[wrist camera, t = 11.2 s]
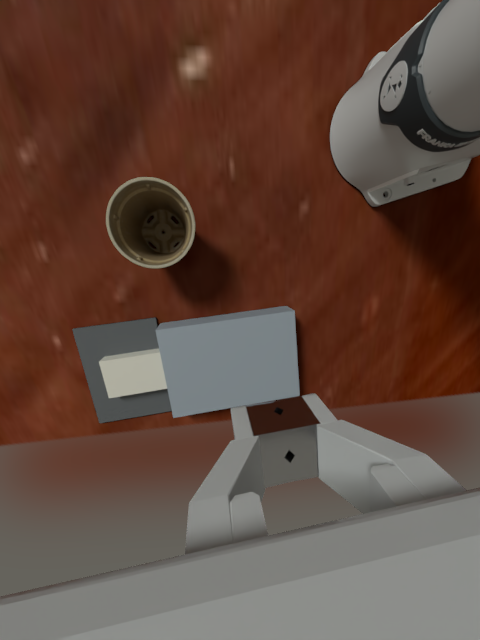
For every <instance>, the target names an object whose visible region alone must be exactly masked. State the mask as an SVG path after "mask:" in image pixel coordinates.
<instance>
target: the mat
mask: <svg viewBox="0 0 480 640" xmlns="http://www.w3.org/2000/svg"><path fill="white" fill-rule="evenodd" d="M157 327H158V325H157V320H156V318H148V319H141V320H134V321H126V322H119V323H112V324H104V325H97V326H89V327H82V328H75V329H72V330H73V334H74V337H75V340H76V344H77V347H78V351H79V354H80V358H81V361H82V365H83V368H84V371H85V375H86V378H87V382H88V385H89V389H90V392H91V396H92V399H93V402H94V406H95V409H96V413H97V416H98V420H99V423H104V422H110V421H116V420H122V419H128V418H133V417H139V416H145V415H151V414H157V413H162V412H168V411H172V409H171V404H170V399H169V394H168V389H162V390H156V391H150V392H144V393H138V394H132V395H126V396H120V397H114V398H109V397H108V393H107V390H106V386H105V383H104V379H103V375H102V372H101V368H100V365H99V361H100V360H101V359H102V358H103V357H105V356H112V355H119V354H125V353H132V352H138V351H145V350H151V349H158V348H159V345H158V341H157V336H156V331H155V330H156V329H157Z"/></svg>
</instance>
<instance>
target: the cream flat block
mask: <svg viewBox="0 0 480 640" xmlns="http://www.w3.org/2000/svg"><path fill="white" fill-rule="evenodd" d="M99 365H100V368H101V372H102V375H103V379H104V383H105V386H106V390H107V393H108V397H109V398H114V397H120V396H126V395H132V394H138V393H144V392H150V391H156V390H162V389H167V385H166V380H165V375H164V370H163V365H162V360H161V355H160V350H159V348H158V349H151V350H145V351H138V352H132V353H125V354H119V355H112V356H105V357H103V358H102V359H101V360H100V361H99Z"/></svg>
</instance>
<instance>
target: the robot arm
mask: <svg viewBox="0 0 480 640" xmlns="http://www.w3.org/2000/svg"><path fill="white" fill-rule="evenodd" d="M330 146H331V152H332V156H333V159H334V162H335V164H336V166H337V168H338V170H339V172H340V173H341V174H342V176H343V177H344V178H345V179H346V180H347V181H348V182H349V183H351V184H352V185H353V186H355V187H356V188H358V189H359V190H360V191H361V192H362V194H363V195H364V197H365V199H366V200H367V202H368V203H369V204H370V205H371V206H373V207H377V206H380V205H383V204H386V203H389V202H392V201H395V200H398V199H401V198H404V197H408V196H411V195H414V194H417V193H420V192H423V191H426V190H429V189H432V188H435V187H438V186H441V185H444V184H447V183H450V182H453V181H455V180H458V179H460V178H461V177H462V176H463V175H464V173H465V171H466V169H467V168H468V165H469V163H470V161H471V158H473V157H476V156H478V155H480V0H443V1H442V2H441V3H439V4H438V5H437V6H436V7H434V8H433V9H432V10H431V11H430V13H429V14H428V15H427V16H426V17H425V18H424V20H422V21H420V22H418V23H417V24H416V25H415V26H414V27H413V28H411V29H410V30H409V31H408V32H407V33H406V34H405V35H404V36H403V37H402V38H401V39H400V40H399V41H398V42H397V43H396V44H395V45H394V46H393V47H392V48H391V49H390V50H389V51H388V52H380V53H378V54H377V55H376V56H375V57H374V58H373V59H372V60H371V61H370V63H369V65H368V66H367V68H366V70H365V72H364V74H363V76H362V78H361V79H360V80H359V81H358V82H357V83H356V84H355V85H354V86H352V87H351V88H350V89H349V90H348V91H347V92H346V94H345V95H344V96H343V97H342V99H341V100H340V102H339V104H338V106H337V108H336V110H335V113H334V116H333V119H332V123H331V129H330ZM383 193H385V197H384V196H383ZM231 416H232V423H233V431H234V438H235V440H232V441H230V443H229V444H228V446H227V447H226V449H225V450H224V452H223V453H222V455H221V457H220V458H219V459H218V461H217V462H216V464H215V465H214V467H213V469H212V470H211V471H210V473H209V474H208V476H207V477H206V479H205V480H204V482H203V483H202V485H201V486H200V488H199V489H198V491H197V492H196V494H195V495H194V497H193V498H192V500H191V501H190V503H189V512H188V524H187V537H186V548H185V555H181V556H176V557H173V558H168V559H163V560H159V561H155V562H150V563H146V564H141V565H137V566H133V567H128V568H124V569H119V570H115V571H111V572H106V573H102V574H97V575H93V576H89V577H85V578H80V579H75V580H71V581H67V582H62V583H58V584H54V585H49V586H45V587H40V588H36V589H32V590H27V591H23V592H18V593H14V594H10V595H5V596H1V597H0V640H480V488H476V489H471V490H466V489H465V488H464V487H463V486H461V485H460V484H459V483H458V482H457V481H456V480H455V479H454V478H452V477H451V476H450V475H449V474H448V473H447V472H446V471H444V470H443V469H442V468H441V467H440V466H439V465H438V464H437V463H436V462H434V461H433V460H432V459H431V458H430V457H429V456H428V455H427V454H424V453H422V452H419V451H417V450H415V449H412V448H410V447H407V446H405V445H402V444H400V443H398V442H395V441H392V440H390V439H388V438H385V437H383V436H380V435H378V434H376V433H373V432H371V431H368V430H366V429H363V428H361V427H358V426H356V425H353V424H351V423H349V422H346V421H344V420H339V421H338V420H337V419H336V418H335V416H334V415H333V414H332V413H331V412H330V410H329V409H328V408H327V407H326V406H325V404H324V403H323V402H322V401H321V400H320V398H319V397H318V396H317V395H316V394H314V393H313V394H309V395H304V396H300V397H295V398H290V399H285V400H280V401H275V402H274V401H272V402H266V403H259V404H253V405H246V406H240V407H234V408H231ZM314 477H319V478H320V479H321V480H322V481H323V482H324V483H326V484H327V485H328V486H329V487H331V488H332V489H333V490H334V491H336V492H337V493H338V494H339V495H341V496H342V497H343V498H344V499H345V500H347V501H348V502H349V503H350V504H352V505H353V506H354V507H355V508H357V509H358V510H359V511H360V512H362V513H363V514H361V515H356V516H352V517H348V518H343V519H339V520H335V521H330V522H326V523H321V524H317V525H313V526H308V527H304V528H299V529H295V530H291V531H286V532H282V533H278V534H273V535H269V536H268V532H267V527H266V523H265V519H264V514H263V510H262V506H261V501H262V498H263V495H264V492H265V488H267V487H270V486H275V485H279V484H283V483H287V482H291V481H297V480H303V479H309V478H314Z"/></svg>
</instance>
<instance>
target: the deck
mask: <svg viewBox="0 0 480 640" xmlns="http://www.w3.org/2000/svg"><path fill="white" fill-rule="evenodd" d="M155 331H156V336H157V341H158V345H159V350H160V355H161V360H162V365H163V370H164V375H165V380H166V385H167V389H168V394H169V399H170V404H171V409H172V414H173V418H176V417H181V416H187V415H193V414H198V413H204V412H210V411H216V410H221V409H227V408H233V407H239V406H244V405H250V404H256V403H261V402H267V401H273V400H279V399H284V398H290V397H296V396H300V391H299V375H298V358H297V342H296V325H295V311H294V310H293V309H291V308H289V307H287V306H282V307H275V308H267V309H260V310H253V311H246V312H238V313H231V314H224V315H217V316H210V317H202V318H195V319H188V320H181V321H173V322H166V323H160V325H159V326H158V327H157V329H156V330H155Z"/></svg>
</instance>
